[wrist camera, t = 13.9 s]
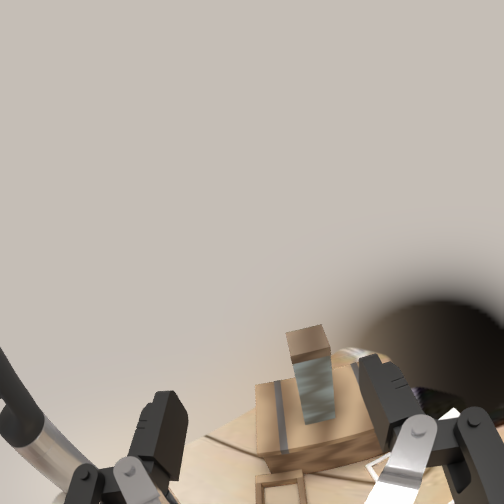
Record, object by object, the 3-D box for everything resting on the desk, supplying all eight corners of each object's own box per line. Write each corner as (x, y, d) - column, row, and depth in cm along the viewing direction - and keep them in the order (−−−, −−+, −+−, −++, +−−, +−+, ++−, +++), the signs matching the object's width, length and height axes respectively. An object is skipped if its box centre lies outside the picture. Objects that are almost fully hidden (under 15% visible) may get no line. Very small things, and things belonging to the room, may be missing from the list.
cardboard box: (259, 520, 27) (240, 501, 23) (256, 422, 46) (242, 386, 42) (406, 487, 26) (421, 459, 22) (371, 396, 44) (373, 357, 41)
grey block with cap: (304, 425, 33) (290, 356, 28) (300, 403, 36) (285, 332, 32) (335, 418, 32) (330, 346, 28) (329, 396, 36) (321, 324, 32)
